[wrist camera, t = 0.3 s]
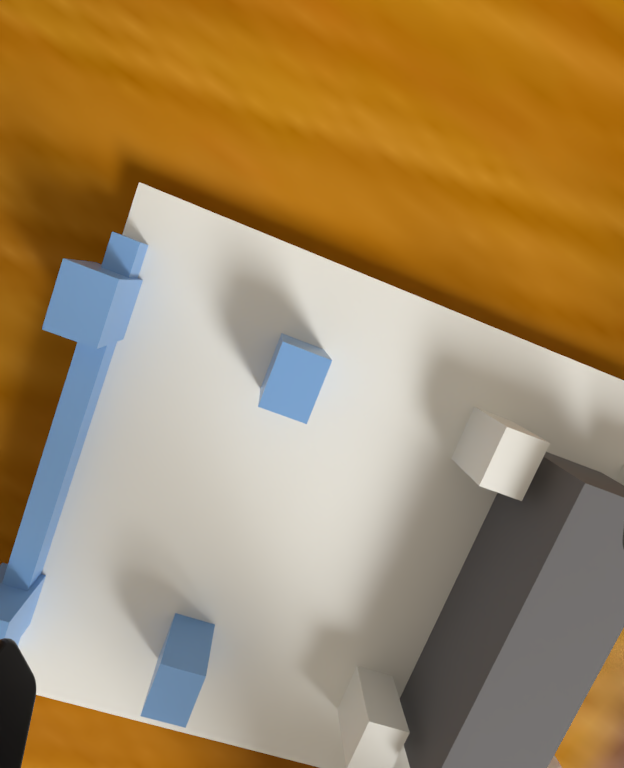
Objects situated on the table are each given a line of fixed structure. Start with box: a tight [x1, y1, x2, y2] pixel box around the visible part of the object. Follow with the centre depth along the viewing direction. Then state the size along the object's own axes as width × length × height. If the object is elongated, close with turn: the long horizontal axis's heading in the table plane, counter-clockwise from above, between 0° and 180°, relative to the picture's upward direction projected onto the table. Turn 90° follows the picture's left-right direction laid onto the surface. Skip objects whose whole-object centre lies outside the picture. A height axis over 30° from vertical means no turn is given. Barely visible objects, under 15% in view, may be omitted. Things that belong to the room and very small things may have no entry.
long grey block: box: [400, 452, 624, 768], centre depth 21 cm, size 14×4×4 cm, turn 158°
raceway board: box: [0, 182, 624, 768], centre depth 21 cm, size 22×25×4 cm
